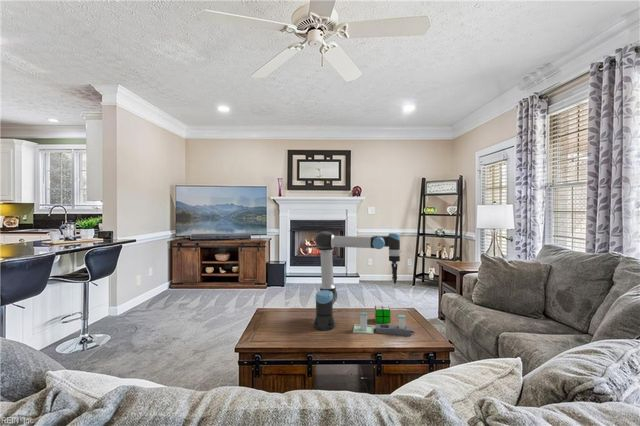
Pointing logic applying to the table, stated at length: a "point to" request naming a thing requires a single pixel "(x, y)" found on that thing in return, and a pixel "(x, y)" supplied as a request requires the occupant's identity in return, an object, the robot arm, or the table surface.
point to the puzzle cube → (382, 314)
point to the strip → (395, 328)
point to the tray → (369, 331)
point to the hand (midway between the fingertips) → (394, 285)
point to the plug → (363, 321)
